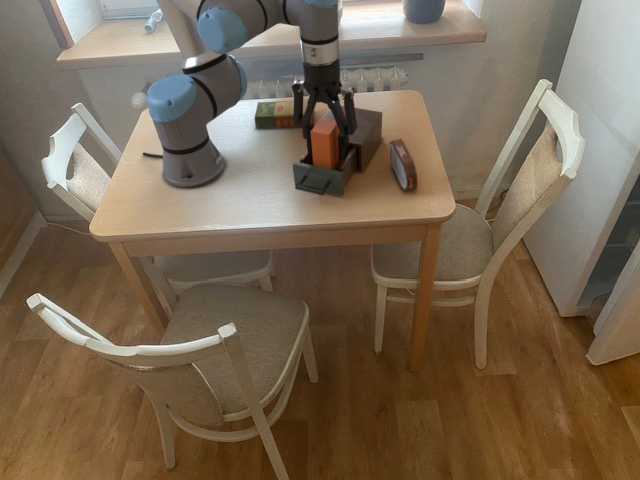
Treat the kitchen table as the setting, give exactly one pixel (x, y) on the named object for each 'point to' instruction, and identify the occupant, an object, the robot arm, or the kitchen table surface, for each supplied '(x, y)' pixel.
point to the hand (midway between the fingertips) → (326, 153)
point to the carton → (276, 114)
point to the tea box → (325, 144)
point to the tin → (403, 165)
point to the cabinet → (364, 133)
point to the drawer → (325, 174)
